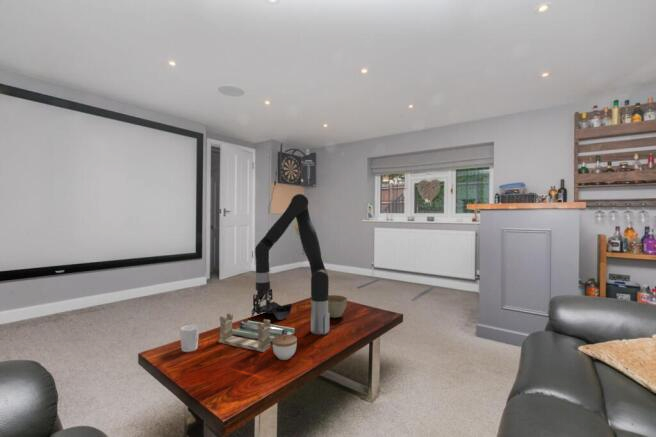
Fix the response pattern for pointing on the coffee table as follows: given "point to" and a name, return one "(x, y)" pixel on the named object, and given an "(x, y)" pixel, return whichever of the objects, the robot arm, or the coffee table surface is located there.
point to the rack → (258, 345)
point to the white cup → (189, 337)
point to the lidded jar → (284, 346)
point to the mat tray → (254, 333)
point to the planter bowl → (336, 305)
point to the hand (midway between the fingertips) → (263, 311)
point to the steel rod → (254, 327)
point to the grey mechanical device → (275, 310)
